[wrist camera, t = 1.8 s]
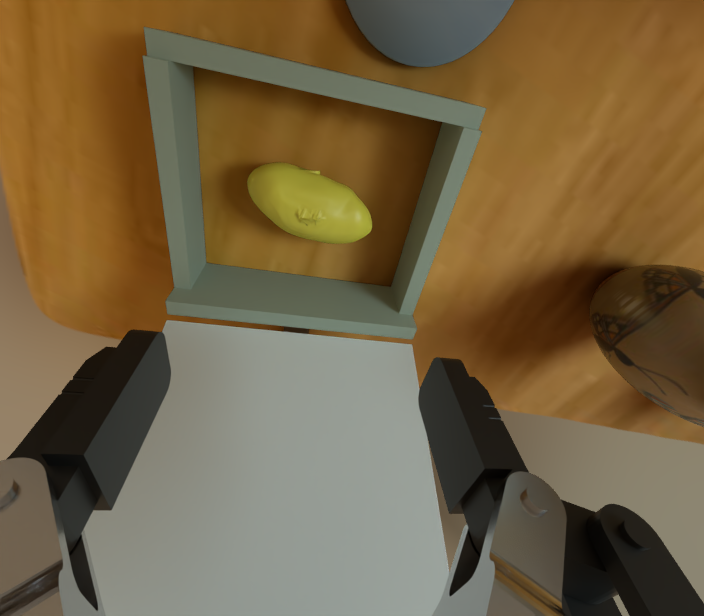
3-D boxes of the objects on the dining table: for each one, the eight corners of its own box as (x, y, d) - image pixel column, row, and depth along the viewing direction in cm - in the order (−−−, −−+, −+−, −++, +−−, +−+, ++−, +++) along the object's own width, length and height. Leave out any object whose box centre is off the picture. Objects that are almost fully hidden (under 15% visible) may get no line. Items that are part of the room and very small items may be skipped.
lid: (34, 636, 12) (45, 634, 12) (456, 616, 14) (448, 615, 15) (166, 320, 21) (169, 327, 21) (412, 344, 23) (408, 350, 24)
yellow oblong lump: (265, 134, 20) (255, 148, 17) (380, 196, 22) (389, 218, 19) (243, 197, 22) (230, 220, 19) (350, 247, 24) (355, 274, 21)
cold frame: (169, 31, 17) (120, 22, 13) (466, 102, 19) (503, 113, 15) (192, 272, 25) (167, 314, 21) (399, 298, 27) (412, 339, 23)
